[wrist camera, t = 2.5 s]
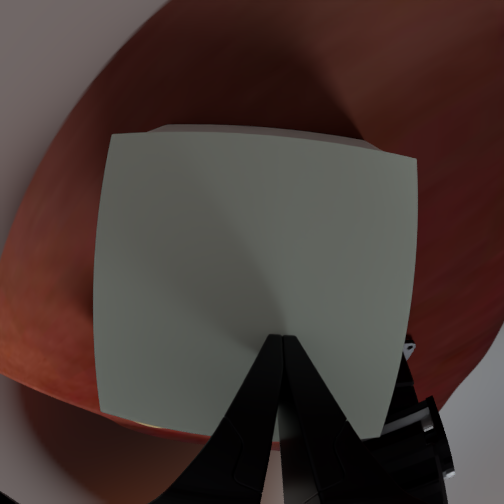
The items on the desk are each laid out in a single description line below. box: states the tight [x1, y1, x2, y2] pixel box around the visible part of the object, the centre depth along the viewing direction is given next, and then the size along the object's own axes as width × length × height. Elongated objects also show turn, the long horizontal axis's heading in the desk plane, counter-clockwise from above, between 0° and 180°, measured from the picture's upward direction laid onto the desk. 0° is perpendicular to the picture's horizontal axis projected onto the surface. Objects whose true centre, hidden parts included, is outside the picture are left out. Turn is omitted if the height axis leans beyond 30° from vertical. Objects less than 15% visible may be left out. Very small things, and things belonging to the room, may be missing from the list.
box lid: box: [93, 132, 418, 441], centre depth 9 cm, size 10×11×1 cm
